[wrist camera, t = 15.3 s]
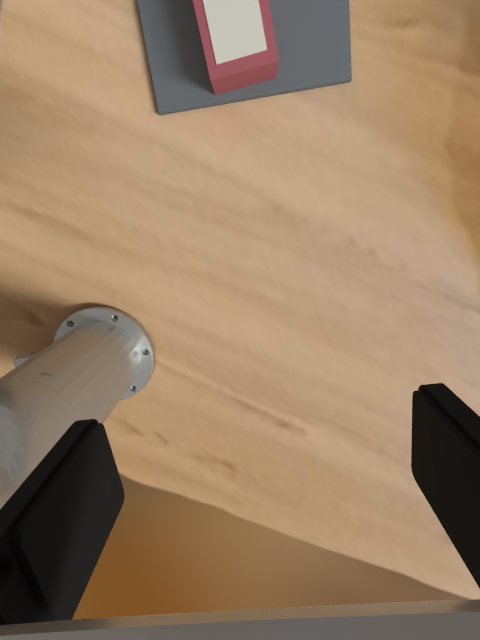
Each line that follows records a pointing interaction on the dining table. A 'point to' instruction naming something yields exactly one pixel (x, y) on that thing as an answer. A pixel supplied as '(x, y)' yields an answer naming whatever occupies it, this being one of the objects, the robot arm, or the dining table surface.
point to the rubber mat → (291, 42)
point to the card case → (237, 42)
